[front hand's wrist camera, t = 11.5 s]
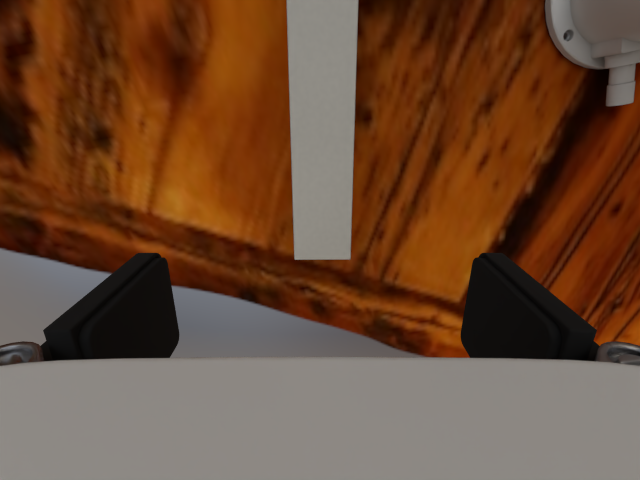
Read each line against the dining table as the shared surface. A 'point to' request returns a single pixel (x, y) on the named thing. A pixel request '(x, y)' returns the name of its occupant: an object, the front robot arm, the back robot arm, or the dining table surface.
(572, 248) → the dining table surface
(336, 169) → the beam
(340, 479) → the front robot arm
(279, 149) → the dining table surface
